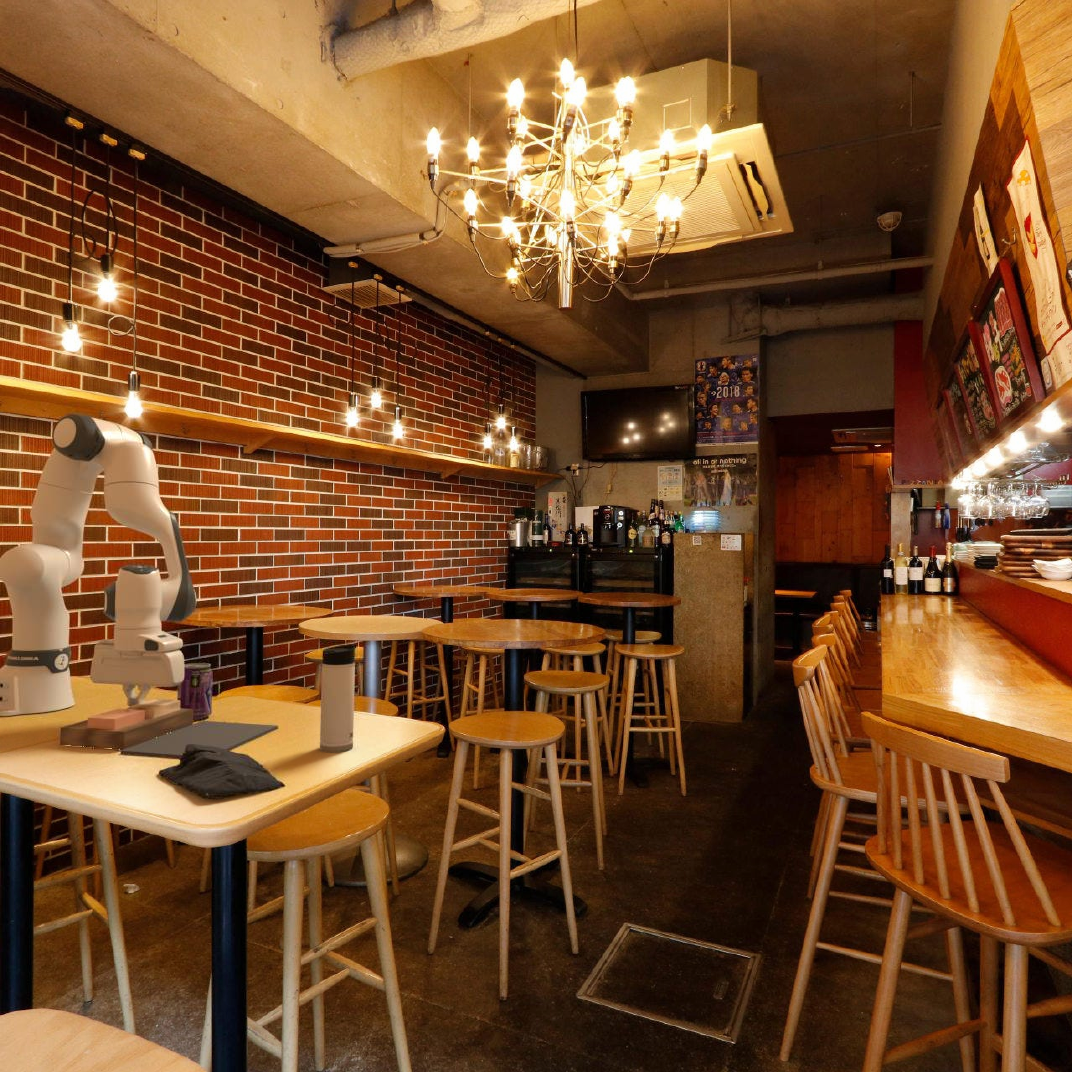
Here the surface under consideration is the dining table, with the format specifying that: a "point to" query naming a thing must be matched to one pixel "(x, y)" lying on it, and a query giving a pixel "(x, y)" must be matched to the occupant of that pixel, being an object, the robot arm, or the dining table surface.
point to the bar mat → (200, 738)
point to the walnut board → (125, 731)
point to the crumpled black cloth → (219, 772)
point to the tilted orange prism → (116, 719)
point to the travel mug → (337, 698)
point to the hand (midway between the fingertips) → (136, 705)
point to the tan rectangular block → (157, 707)
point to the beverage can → (196, 690)
